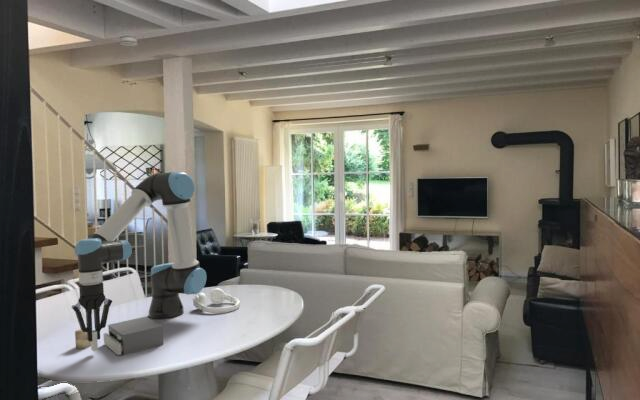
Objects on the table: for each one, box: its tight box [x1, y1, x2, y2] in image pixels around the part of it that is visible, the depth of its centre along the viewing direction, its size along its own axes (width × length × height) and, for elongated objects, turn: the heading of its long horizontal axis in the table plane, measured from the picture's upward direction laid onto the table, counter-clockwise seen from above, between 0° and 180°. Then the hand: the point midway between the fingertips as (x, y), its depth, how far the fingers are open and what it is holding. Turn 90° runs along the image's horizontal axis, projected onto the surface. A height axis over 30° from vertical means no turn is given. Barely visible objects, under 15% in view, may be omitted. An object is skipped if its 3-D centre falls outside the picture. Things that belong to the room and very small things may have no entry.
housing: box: [107, 316, 164, 356], centre depth 168 cm, size 14×17×7 cm
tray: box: [103, 332, 123, 356], centre depth 167 cm, size 14×17×4 cm
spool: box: [74, 328, 91, 350], centre depth 167 cm, size 5×5×6 cm
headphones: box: [192, 287, 241, 314], centre depth 214 cm, size 20×8×20 cm
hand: (94, 349), depth 159 cm, fingers closed
